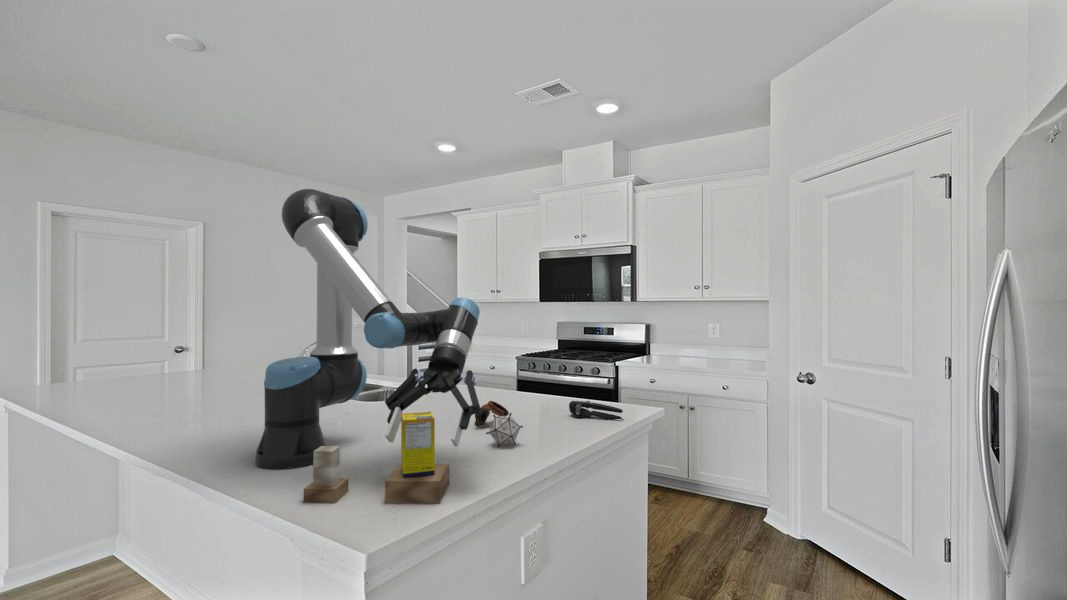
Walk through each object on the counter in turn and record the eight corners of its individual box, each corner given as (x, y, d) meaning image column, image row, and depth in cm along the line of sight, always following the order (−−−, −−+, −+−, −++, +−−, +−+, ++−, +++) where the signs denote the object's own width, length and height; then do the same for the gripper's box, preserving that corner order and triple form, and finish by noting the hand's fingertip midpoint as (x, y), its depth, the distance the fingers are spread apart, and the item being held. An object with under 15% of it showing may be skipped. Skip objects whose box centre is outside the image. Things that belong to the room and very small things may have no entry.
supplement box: (431, 465, 101) (431, 411, 102) (435, 475, 96) (435, 417, 96) (400, 468, 100) (400, 412, 100) (402, 478, 94) (402, 419, 94)
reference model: (303, 502, 93) (303, 453, 93) (317, 490, 99) (318, 444, 99) (335, 502, 93) (336, 453, 93) (348, 490, 99) (348, 444, 99)
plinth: (384, 502, 93) (384, 480, 93) (400, 483, 102) (400, 463, 103) (439, 503, 92) (439, 481, 92) (449, 484, 102) (449, 464, 102)
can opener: (565, 418, 163) (565, 401, 163) (572, 414, 170) (572, 397, 170) (620, 423, 157) (620, 405, 157) (624, 418, 163) (624, 401, 163)
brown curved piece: (481, 422, 160) (495, 399, 160) (503, 439, 155) (517, 415, 155) (461, 419, 150) (475, 395, 150) (483, 437, 145) (498, 413, 145)
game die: (510, 461, 130) (521, 435, 125) (479, 448, 130) (489, 422, 125) (518, 436, 138) (529, 410, 132) (489, 424, 138) (498, 399, 133)
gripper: (507, 367, 113) (486, 454, 98) (403, 364, 118) (369, 447, 103) (500, 345, 108) (478, 434, 93) (392, 343, 113) (355, 427, 98)
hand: (420, 441), depth 98 cm, fingers open, 13 cm apart
